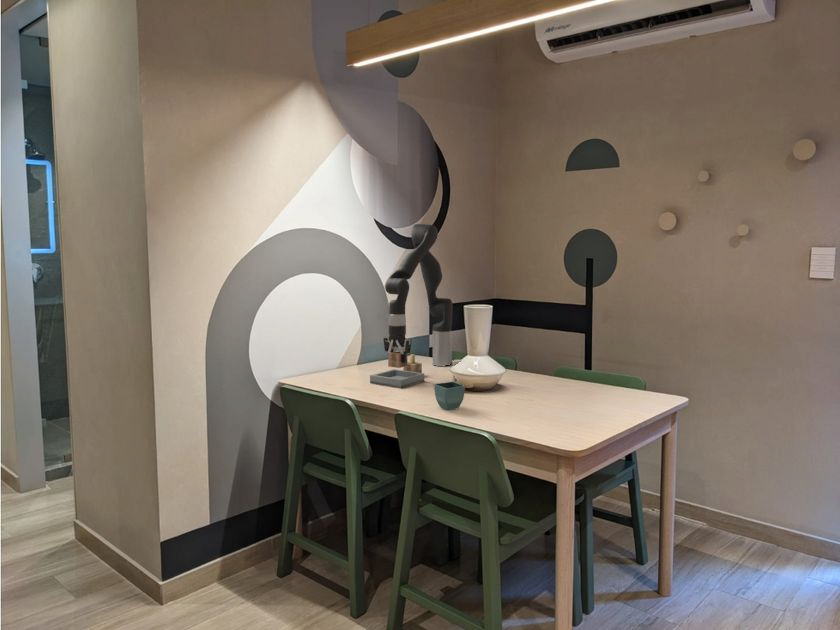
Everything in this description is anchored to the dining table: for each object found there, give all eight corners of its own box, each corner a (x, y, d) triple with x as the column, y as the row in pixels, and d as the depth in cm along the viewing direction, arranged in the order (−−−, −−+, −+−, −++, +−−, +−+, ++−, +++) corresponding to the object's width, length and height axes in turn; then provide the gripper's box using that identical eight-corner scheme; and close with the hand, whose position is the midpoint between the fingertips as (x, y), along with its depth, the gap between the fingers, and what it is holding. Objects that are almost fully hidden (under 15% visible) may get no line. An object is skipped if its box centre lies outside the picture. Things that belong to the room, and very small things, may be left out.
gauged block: (411, 374, 316) (411, 353, 315) (421, 375, 313) (421, 354, 312) (403, 376, 311) (403, 354, 310) (414, 378, 308) (413, 356, 307)
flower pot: (465, 409, 254) (465, 385, 253) (445, 412, 250) (445, 388, 248) (453, 404, 261) (453, 381, 260) (433, 407, 257) (433, 383, 256)
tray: (394, 376, 311) (393, 369, 311) (424, 381, 302) (424, 373, 301) (370, 383, 298) (370, 375, 297) (401, 388, 288) (401, 380, 288)
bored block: (396, 364, 303) (396, 350, 302) (407, 365, 300) (407, 352, 299) (388, 366, 298) (388, 352, 298) (399, 367, 295) (399, 354, 294)
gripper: (415, 324, 295) (415, 362, 297) (389, 322, 304) (389, 359, 306) (405, 326, 289) (405, 365, 291) (378, 323, 298) (379, 361, 300)
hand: (397, 362), depth 299 cm, fingers closed on bored block, 6 cm apart
